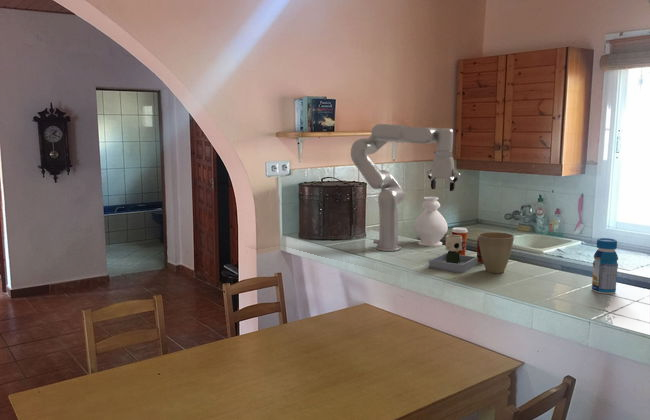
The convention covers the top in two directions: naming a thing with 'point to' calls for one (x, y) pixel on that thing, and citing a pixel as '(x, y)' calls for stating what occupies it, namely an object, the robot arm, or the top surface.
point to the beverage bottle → (605, 266)
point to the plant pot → (495, 250)
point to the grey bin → (464, 265)
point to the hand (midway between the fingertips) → (442, 189)
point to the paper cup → (462, 233)
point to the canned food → (479, 252)
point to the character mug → (453, 248)
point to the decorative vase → (430, 223)
